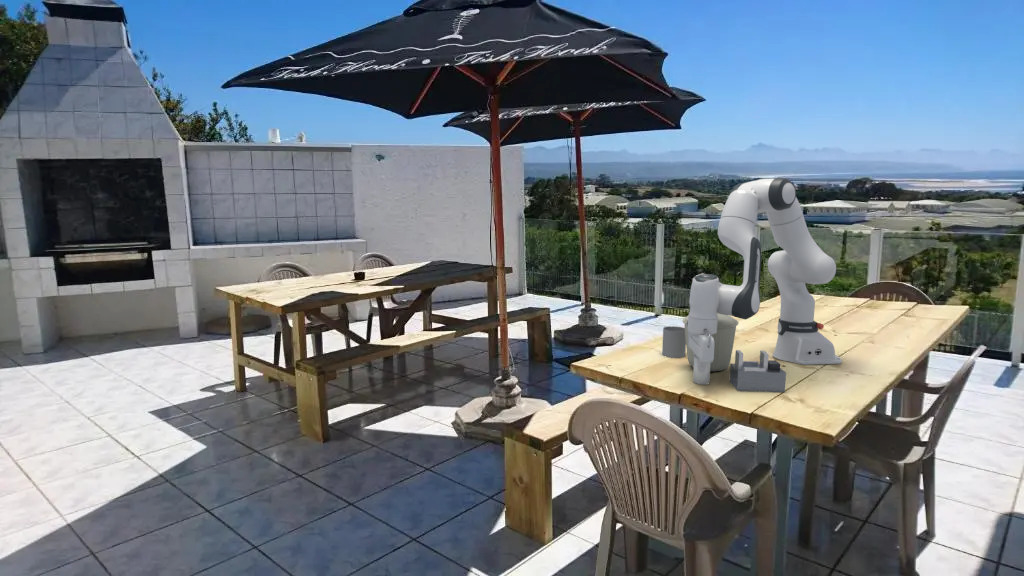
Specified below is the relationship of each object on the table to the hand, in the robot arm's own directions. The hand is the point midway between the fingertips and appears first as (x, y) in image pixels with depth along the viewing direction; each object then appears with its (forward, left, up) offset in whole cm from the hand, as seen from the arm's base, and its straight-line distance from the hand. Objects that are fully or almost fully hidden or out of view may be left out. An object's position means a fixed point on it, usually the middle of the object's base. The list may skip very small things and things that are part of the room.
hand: (699, 369), depth 191 cm
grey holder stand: (-17, +3, -4) cm, 18 cm away
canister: (-7, -17, -4) cm, 19 cm away
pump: (-1, 0, -4) cm, 4 cm away
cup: (+2, -33, -4) cm, 33 cm away
